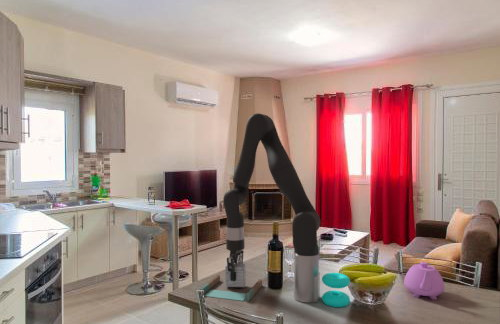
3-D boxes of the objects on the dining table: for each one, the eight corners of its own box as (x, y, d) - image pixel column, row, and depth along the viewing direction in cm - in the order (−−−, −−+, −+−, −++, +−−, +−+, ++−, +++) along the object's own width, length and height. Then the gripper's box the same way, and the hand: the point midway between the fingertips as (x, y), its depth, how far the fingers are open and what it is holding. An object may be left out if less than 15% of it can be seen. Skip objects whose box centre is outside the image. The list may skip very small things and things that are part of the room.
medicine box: (245, 284, 152) (245, 263, 152) (244, 287, 148) (244, 266, 148) (227, 283, 153) (227, 263, 153) (225, 287, 149) (225, 266, 149)
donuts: (355, 278, 131) (331, 281, 128) (355, 306, 131) (331, 310, 128) (339, 270, 140) (316, 273, 137) (339, 296, 141) (316, 299, 137)
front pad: (249, 294, 142) (249, 293, 142) (243, 301, 136) (243, 300, 136) (211, 289, 147) (211, 289, 147) (204, 296, 141) (204, 295, 141)
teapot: (449, 307, 130) (449, 272, 129) (406, 302, 134) (406, 268, 134) (440, 288, 149) (440, 258, 148) (402, 284, 153) (402, 255, 153)
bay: (262, 285, 152) (262, 279, 152) (248, 301, 135) (248, 295, 135) (217, 280, 158) (217, 274, 158) (199, 295, 141) (199, 289, 141)
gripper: (237, 242, 142) (238, 285, 143) (249, 234, 156) (249, 274, 156) (220, 240, 145) (220, 283, 145) (232, 233, 158) (233, 272, 158)
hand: (235, 278), depth 150 cm, fingers closed on medicine box, 5 cm apart
